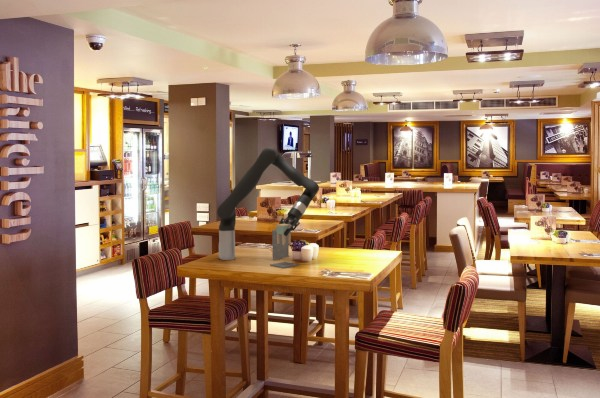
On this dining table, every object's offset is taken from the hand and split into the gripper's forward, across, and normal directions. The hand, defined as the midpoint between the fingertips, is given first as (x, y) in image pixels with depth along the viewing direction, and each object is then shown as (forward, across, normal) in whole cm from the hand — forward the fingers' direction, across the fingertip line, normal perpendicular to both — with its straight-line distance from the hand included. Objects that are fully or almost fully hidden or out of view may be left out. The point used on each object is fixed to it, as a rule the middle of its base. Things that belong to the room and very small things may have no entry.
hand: (281, 234), depth 342 cm
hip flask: (+2, -20, +24) cm, 31 cm away
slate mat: (+11, 0, +14) cm, 18 cm away
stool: (+2, 0, +5) cm, 5 cm away
